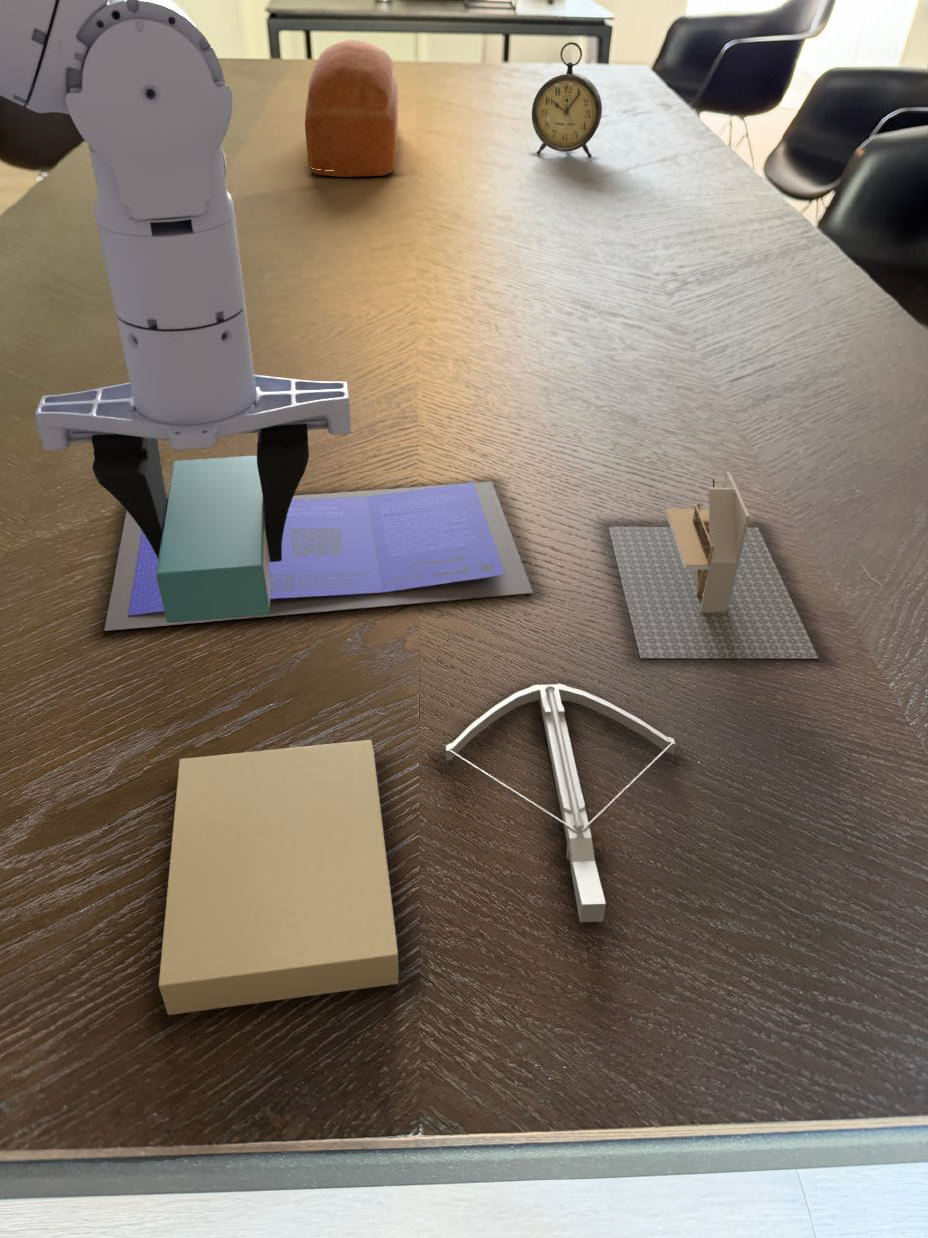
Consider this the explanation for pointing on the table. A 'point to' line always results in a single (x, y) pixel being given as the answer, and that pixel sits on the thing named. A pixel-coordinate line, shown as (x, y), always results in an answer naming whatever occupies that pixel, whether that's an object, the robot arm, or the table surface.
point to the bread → (352, 111)
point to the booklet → (357, 554)
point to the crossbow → (568, 777)
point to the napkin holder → (707, 586)
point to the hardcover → (277, 879)
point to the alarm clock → (566, 110)
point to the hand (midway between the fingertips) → (222, 555)
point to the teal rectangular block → (214, 542)
